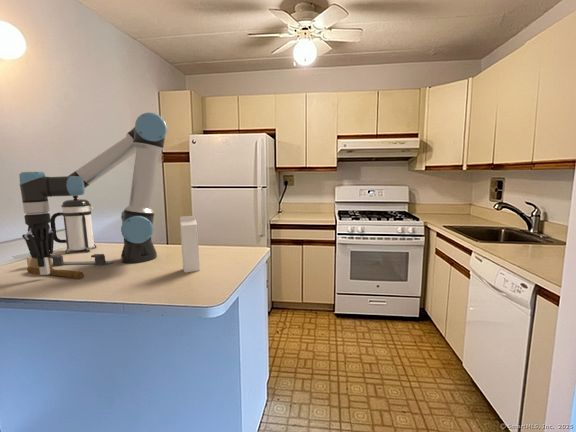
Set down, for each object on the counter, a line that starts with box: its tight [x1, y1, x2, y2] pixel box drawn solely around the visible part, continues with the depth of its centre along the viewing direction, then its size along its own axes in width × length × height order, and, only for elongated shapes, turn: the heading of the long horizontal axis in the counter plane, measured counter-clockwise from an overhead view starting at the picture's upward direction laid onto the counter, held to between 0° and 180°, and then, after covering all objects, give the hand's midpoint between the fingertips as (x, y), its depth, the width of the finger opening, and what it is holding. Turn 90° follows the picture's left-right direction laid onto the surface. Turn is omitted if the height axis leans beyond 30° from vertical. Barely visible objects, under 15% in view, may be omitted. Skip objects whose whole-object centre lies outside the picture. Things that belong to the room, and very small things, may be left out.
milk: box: [179, 215, 201, 273], centre depth 126 cm, size 6×6×22 cm
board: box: [26, 253, 115, 268], centre depth 138 cm, size 33×9×6 cm, turn 89°
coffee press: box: [49, 195, 97, 255], centre depth 164 cm, size 17×16×30 cm
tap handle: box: [26, 266, 85, 280], centre depth 125 cm, size 3×3×30 cm
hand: (45, 274), depth 120 cm, fingers closed
